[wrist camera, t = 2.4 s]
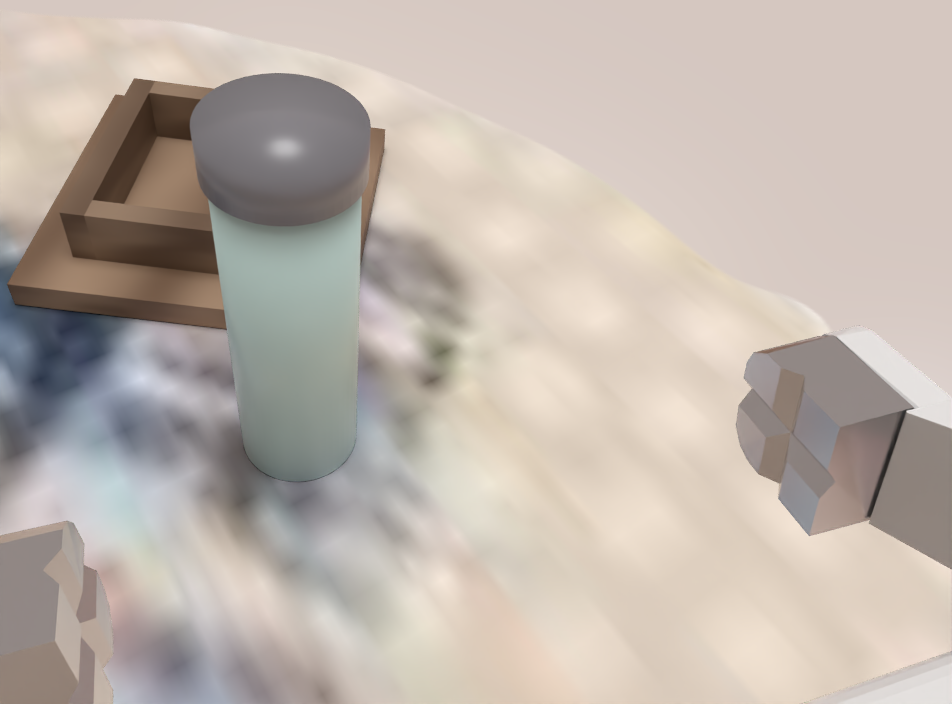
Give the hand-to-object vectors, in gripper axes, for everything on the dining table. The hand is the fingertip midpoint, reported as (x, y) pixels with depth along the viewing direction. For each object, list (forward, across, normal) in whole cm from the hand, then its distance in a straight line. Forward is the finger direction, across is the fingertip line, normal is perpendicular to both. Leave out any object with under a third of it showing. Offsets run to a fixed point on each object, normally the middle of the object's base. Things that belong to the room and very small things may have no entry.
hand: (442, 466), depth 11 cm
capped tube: (+20, +1, +16) cm, 26 cm away
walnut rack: (+33, +2, +13) cm, 35 cm away
